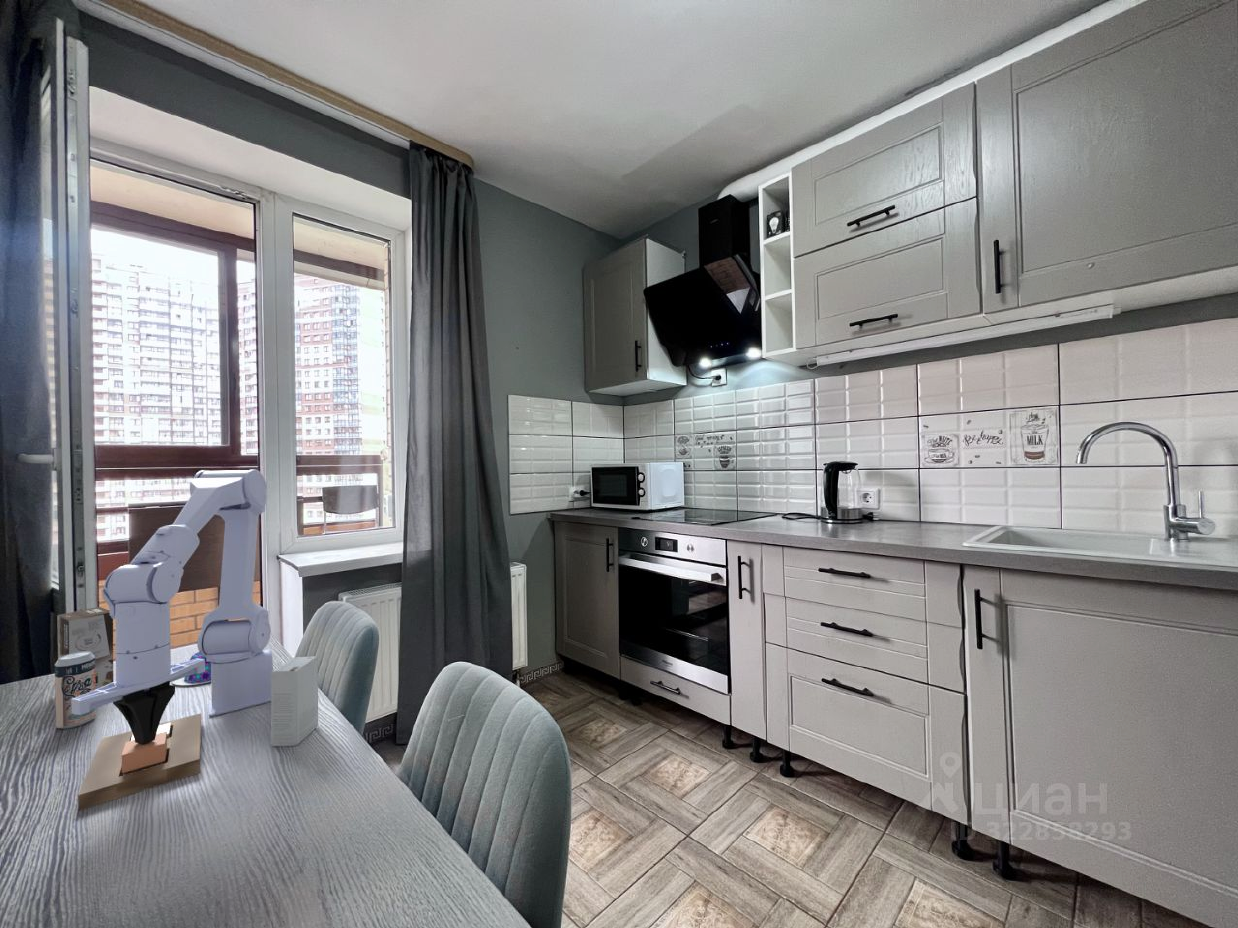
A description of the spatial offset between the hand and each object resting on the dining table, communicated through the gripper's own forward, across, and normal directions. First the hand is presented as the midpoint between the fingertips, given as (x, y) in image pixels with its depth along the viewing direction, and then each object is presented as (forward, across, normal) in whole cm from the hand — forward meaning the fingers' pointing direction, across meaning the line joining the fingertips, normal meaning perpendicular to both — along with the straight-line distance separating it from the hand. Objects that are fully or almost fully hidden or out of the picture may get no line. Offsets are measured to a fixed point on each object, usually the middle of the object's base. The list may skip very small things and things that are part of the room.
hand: (145, 741), depth 71 cm
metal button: (+5, -5, -8) cm, 10 cm away
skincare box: (+5, -14, +11) cm, 19 cm away
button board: (+5, -2, -4) cm, 7 cm away
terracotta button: (+3, 0, 0) cm, 3 cm away
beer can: (+5, -6, -31) cm, 32 cm away
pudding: (+5, -27, -31) cm, 42 cm away
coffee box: (+5, -13, -46) cm, 48 cm away
